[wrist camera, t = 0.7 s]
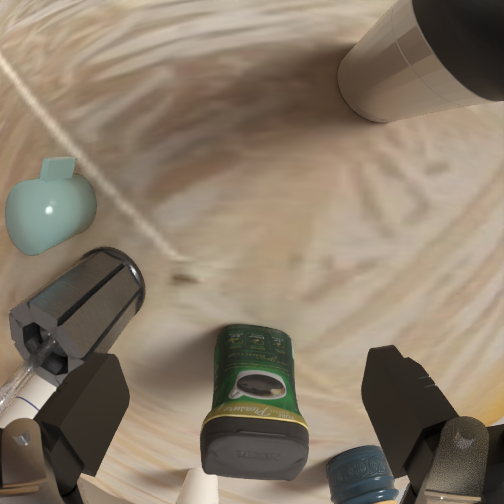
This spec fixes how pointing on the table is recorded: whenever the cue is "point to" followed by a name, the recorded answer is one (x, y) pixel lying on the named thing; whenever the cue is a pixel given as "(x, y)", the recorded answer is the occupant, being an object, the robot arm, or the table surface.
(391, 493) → the canister
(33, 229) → the teal mug
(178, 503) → the foam cup
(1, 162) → the table surface
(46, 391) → the cylindrical container
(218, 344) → the coffee jar
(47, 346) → the plunger
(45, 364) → the faceted grey mug
